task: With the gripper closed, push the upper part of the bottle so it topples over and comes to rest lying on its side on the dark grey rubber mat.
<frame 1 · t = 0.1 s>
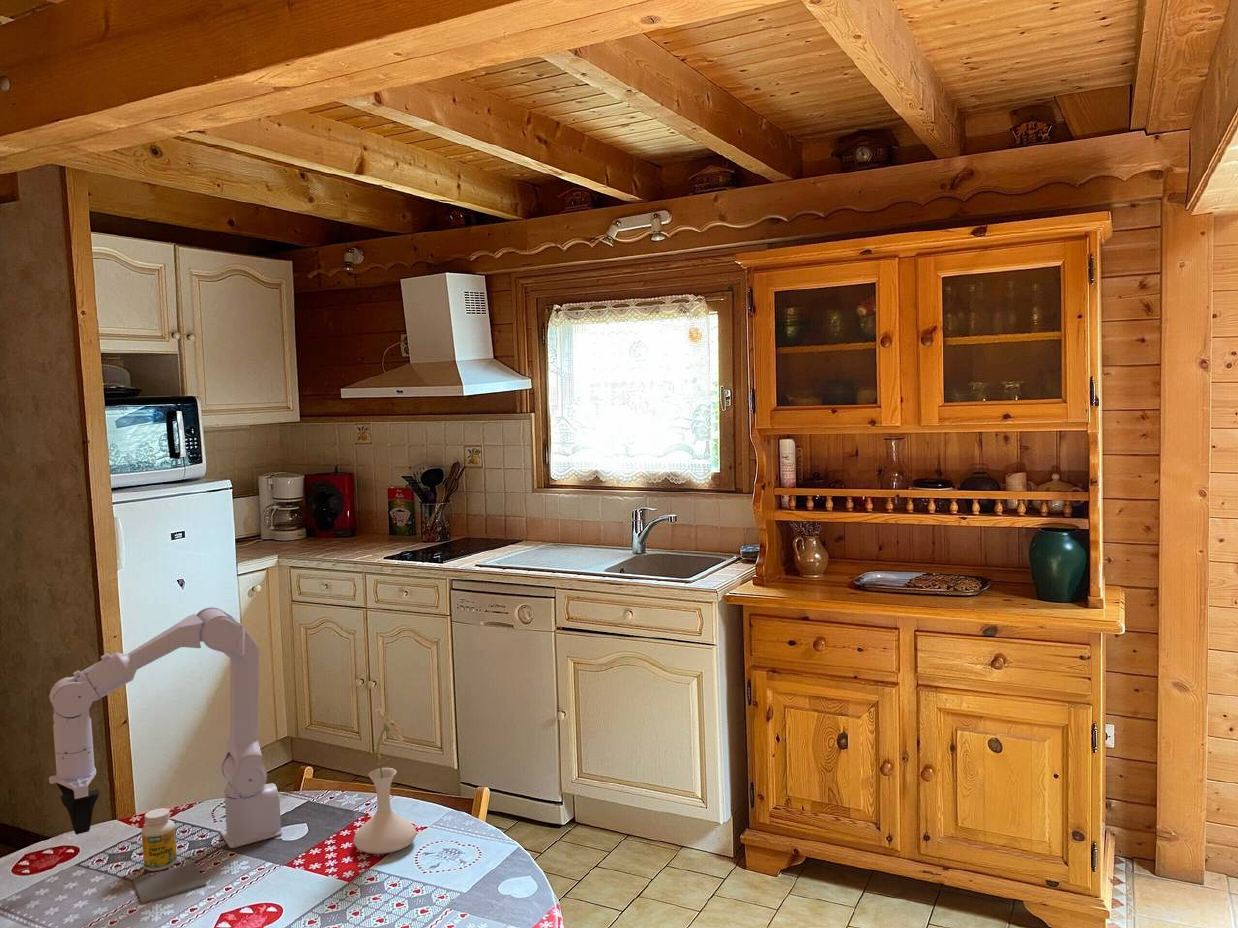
hand: (79, 824, 167), 10 cm above the table, fingers open, 7 cm apart
mat: (169, 883, 166), on the table
flower in vase: (385, 844, 179), on the table
supplement bottle: (160, 865, 173), on the table
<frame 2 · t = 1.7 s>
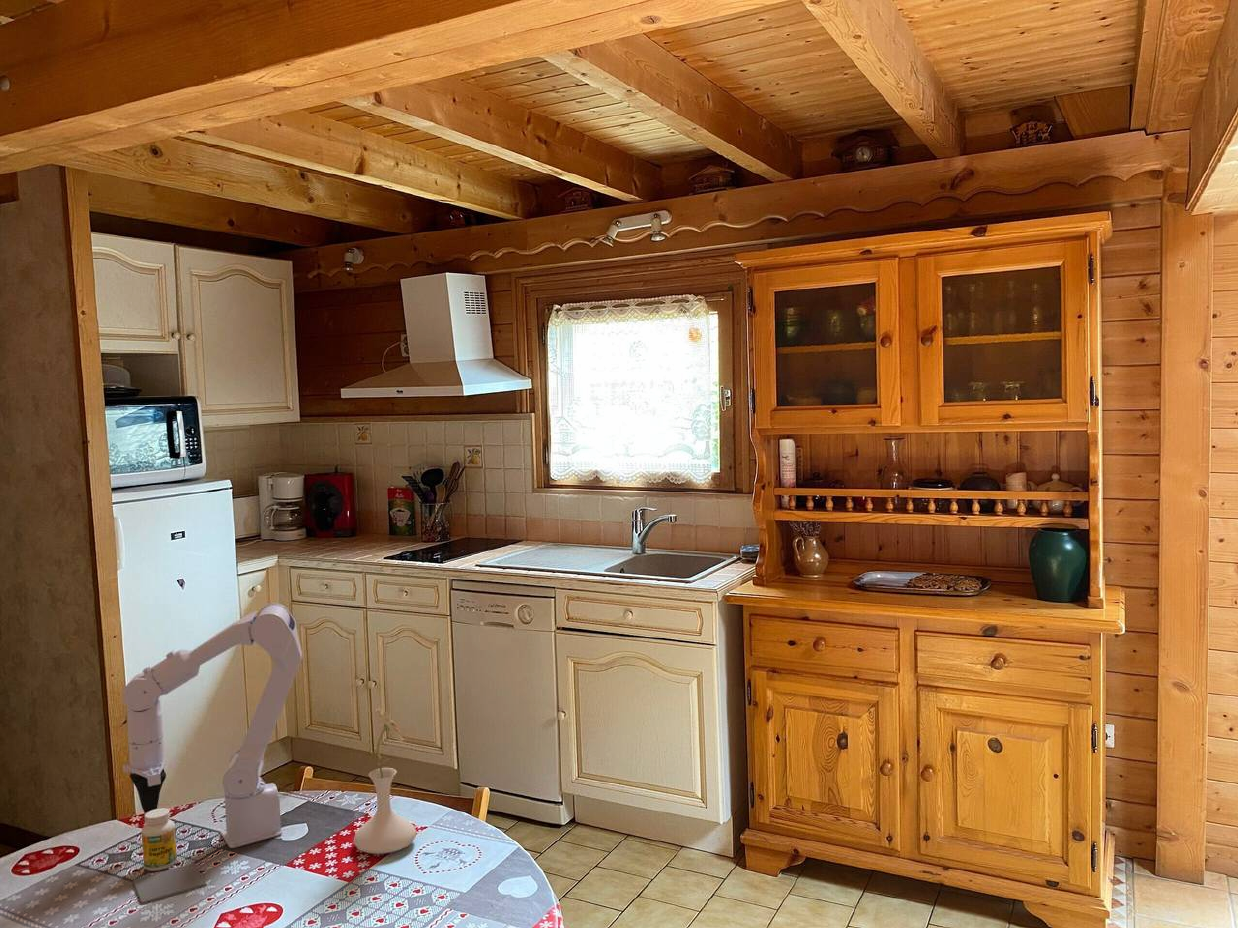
hand: (149, 810, 179), 7 cm above the table, fingers closed
nothing on the table moved.
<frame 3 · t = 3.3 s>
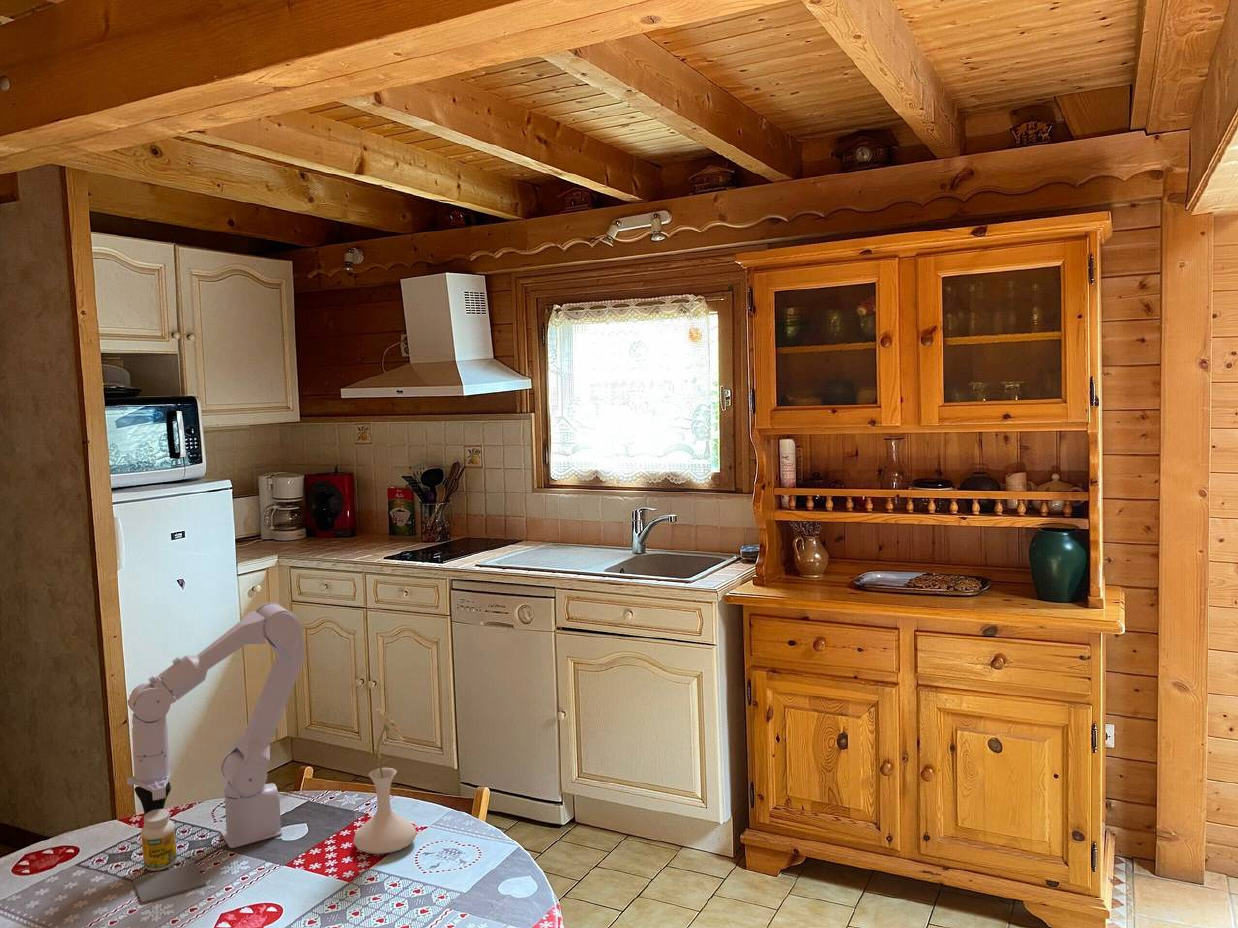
hand: (154, 824, 174), 7 cm above the table, fingers closed, pressing on supplement bottle
supplement bottle: (160, 863, 173), on the table, touching gripper
everything else where it was.
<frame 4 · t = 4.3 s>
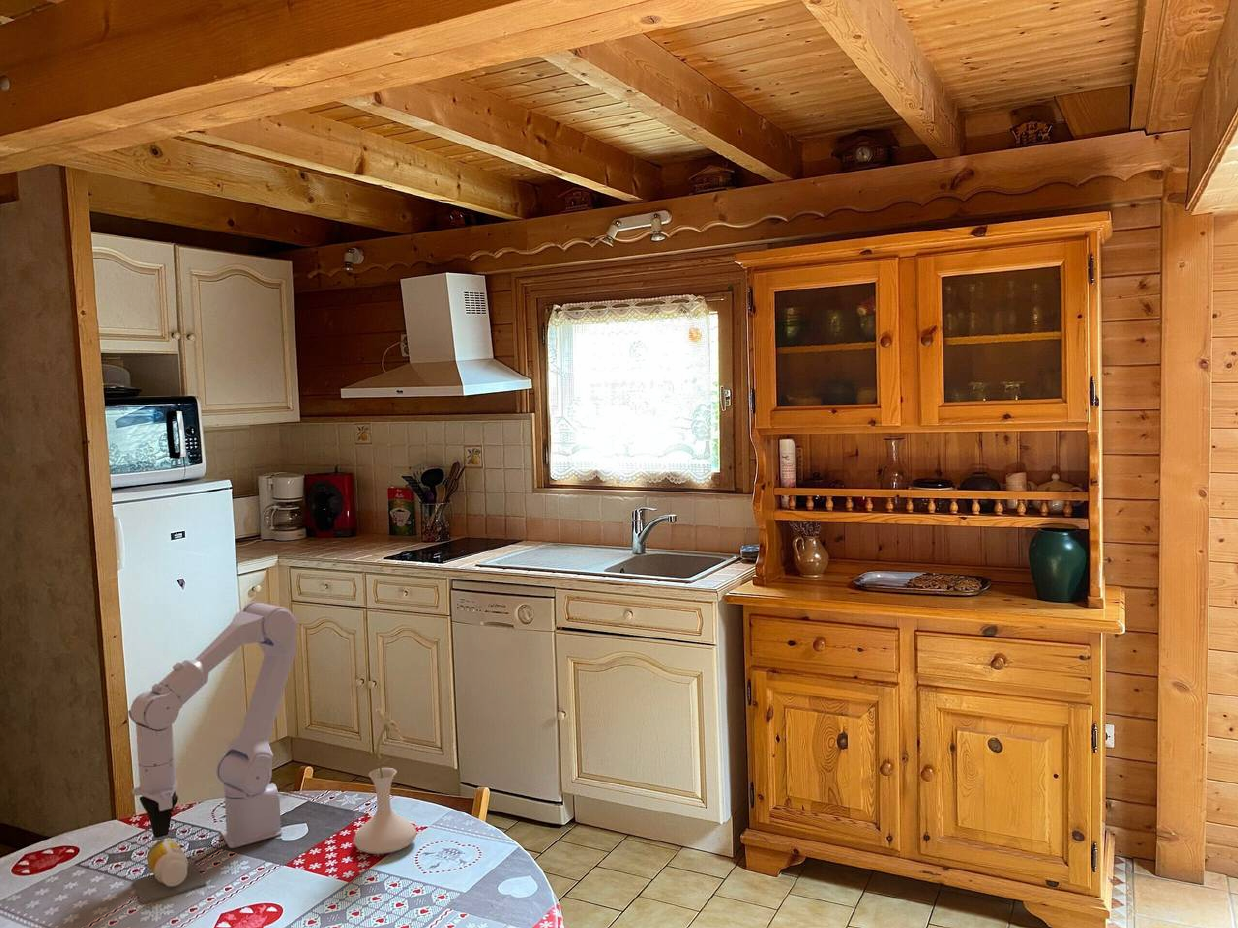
hand: (161, 835, 170), 6 cm above the table, fingers closed
supplement bottle: (162, 852, 171), point 3 cm above the table, touching mat
everything else where it was.
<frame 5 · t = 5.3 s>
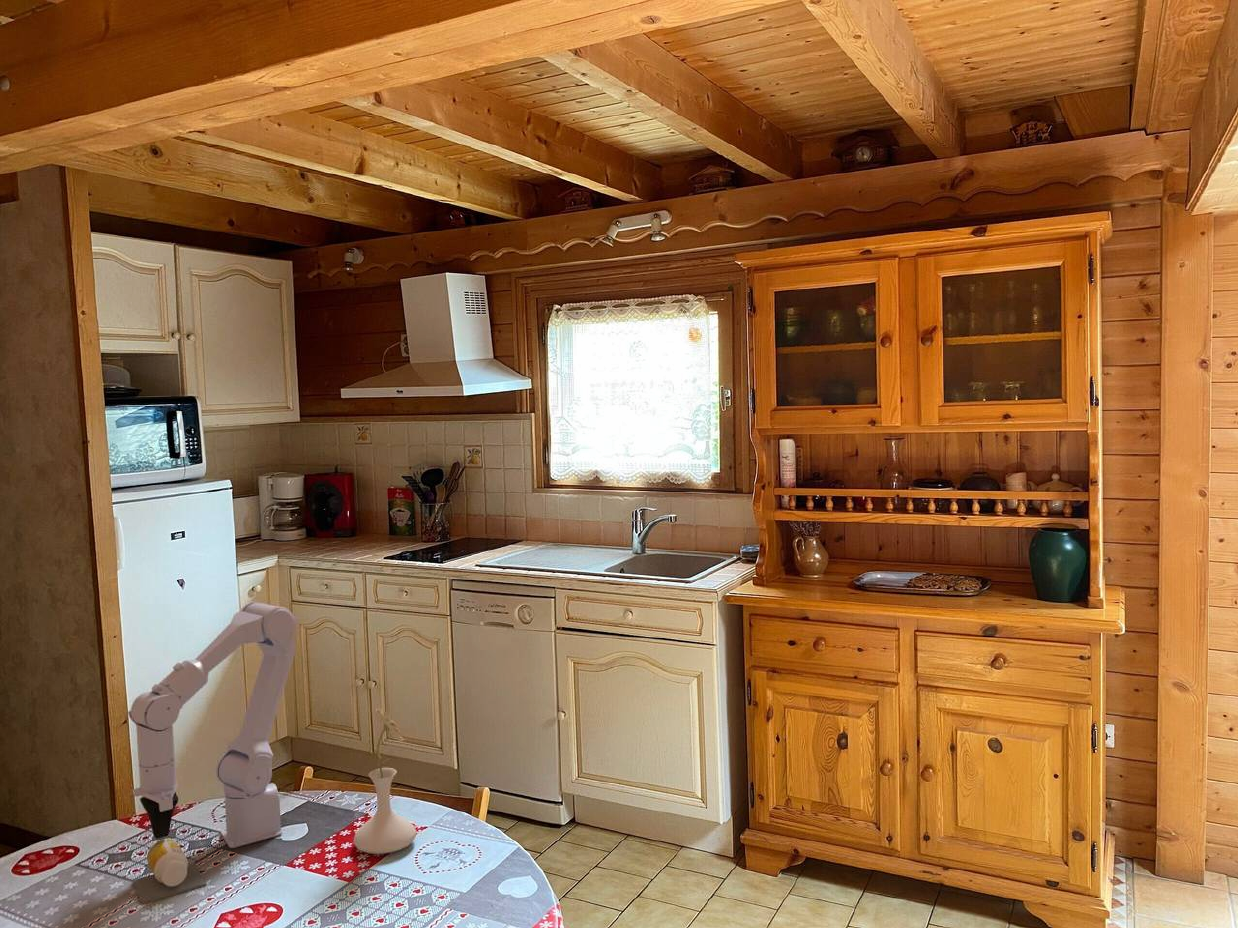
hand: (161, 835, 170), 6 cm above the table, fingers closed
nothing on the table moved.
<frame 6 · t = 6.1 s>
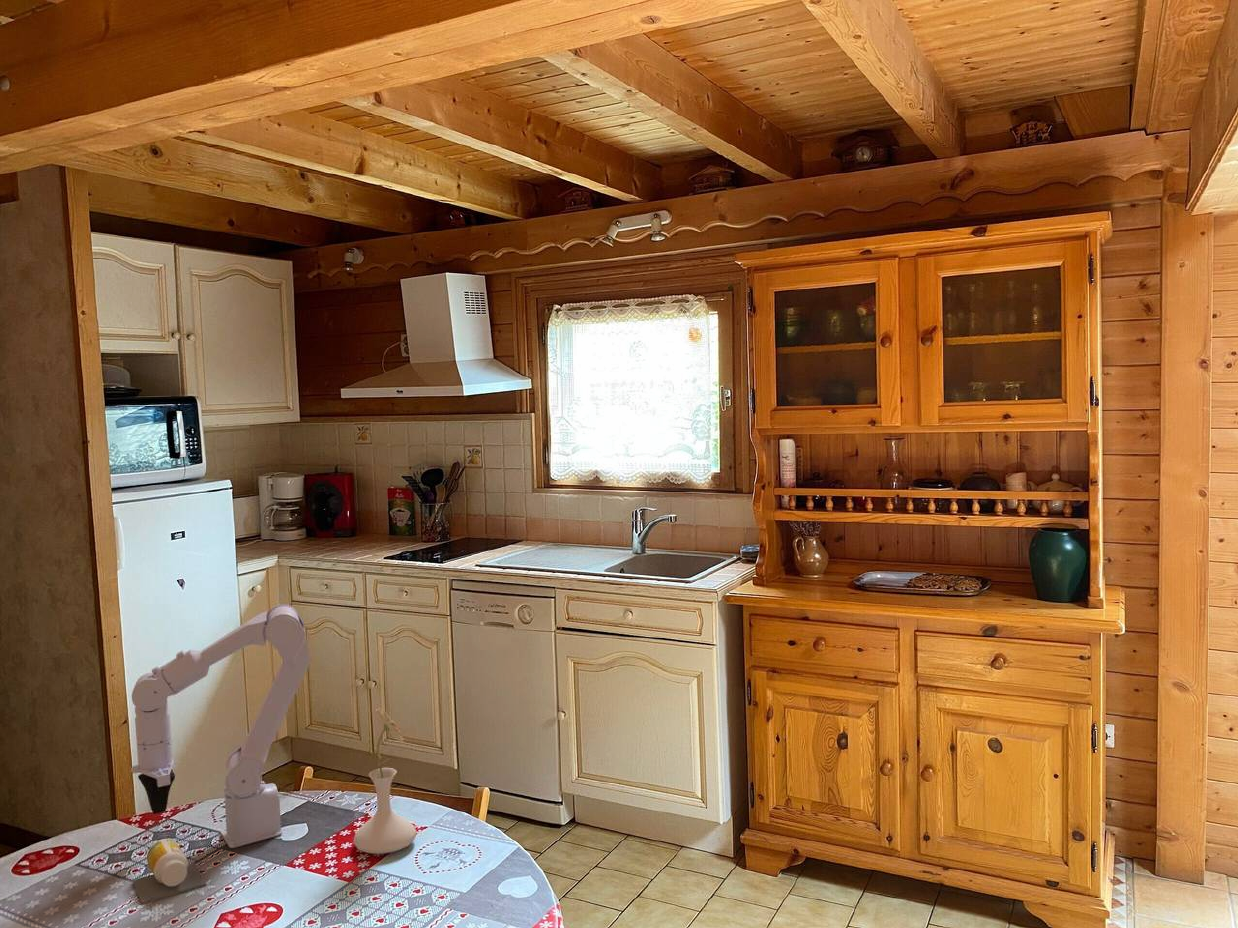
hand: (159, 811, 178), 7 cm above the table, fingers closed
nothing on the table moved.
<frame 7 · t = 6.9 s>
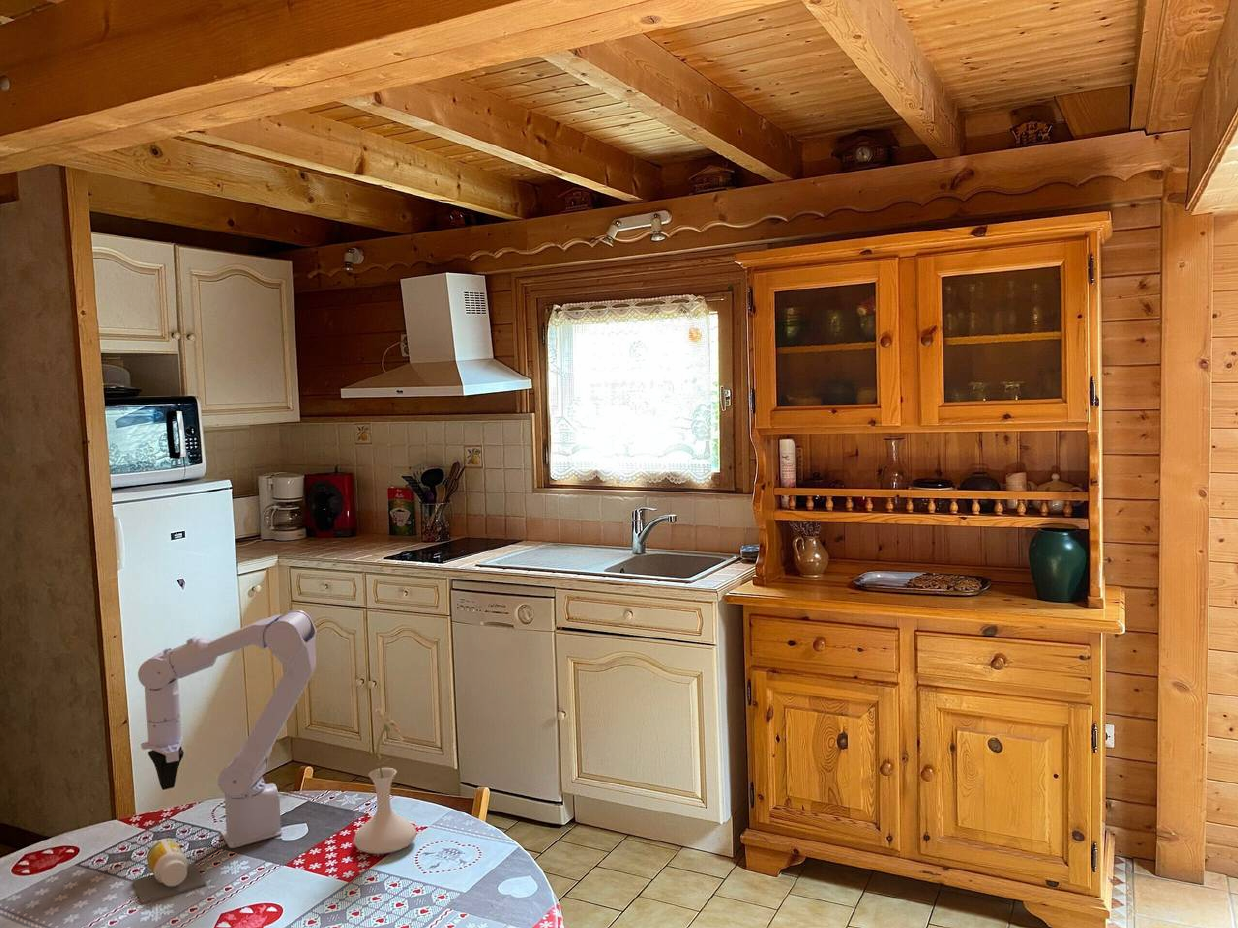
hand: (167, 787, 182), 10 cm above the table, fingers closed
nothing on the table moved.
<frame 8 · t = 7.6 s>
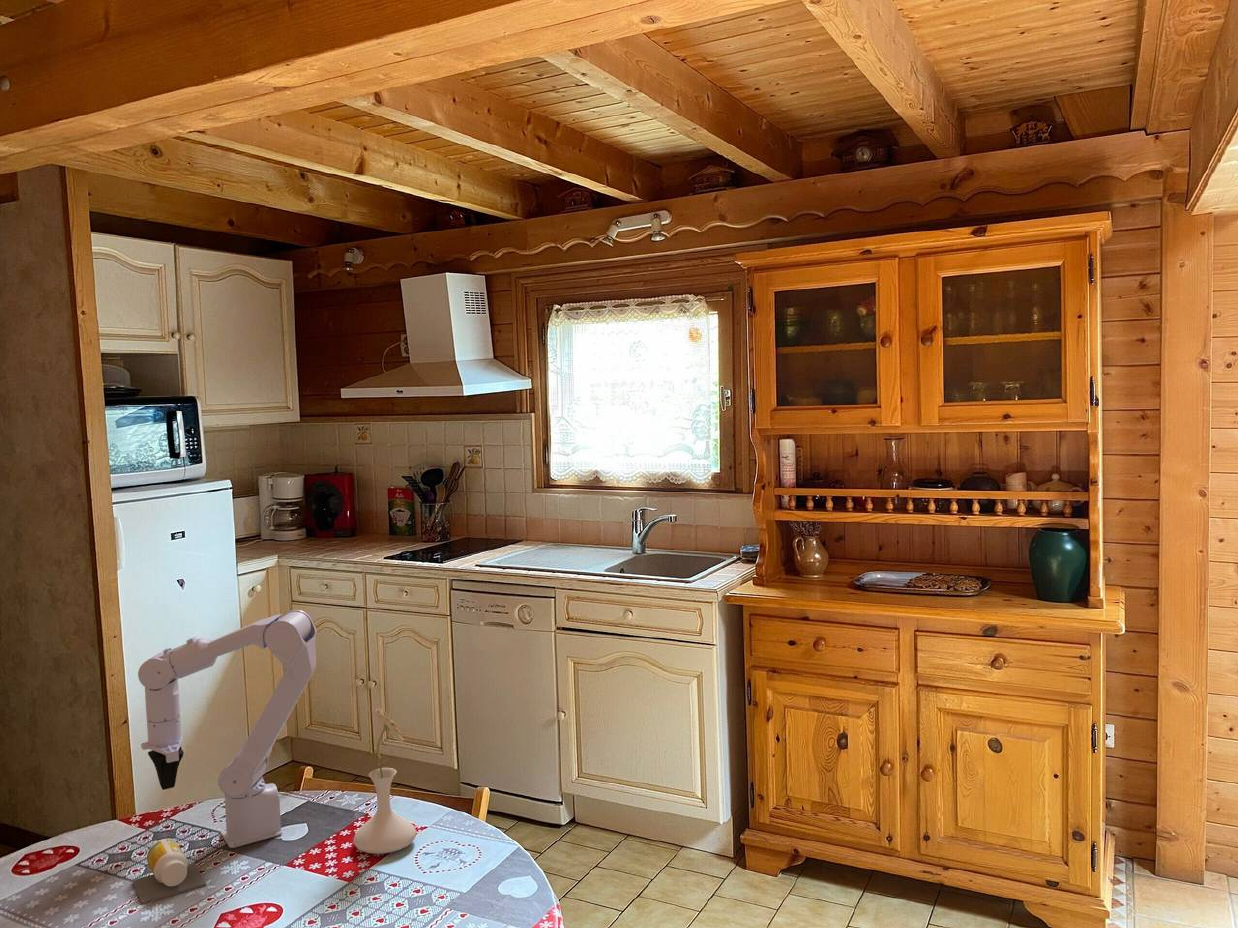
hand: (167, 787, 182), 10 cm above the table, fingers closed
nothing on the table moved.
at the end: supplement bottle tilted 90°; supplement bottle inside the target area (5.7 cm from its centre), point 3.1 cm above the table; supplement bottle touching mat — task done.
